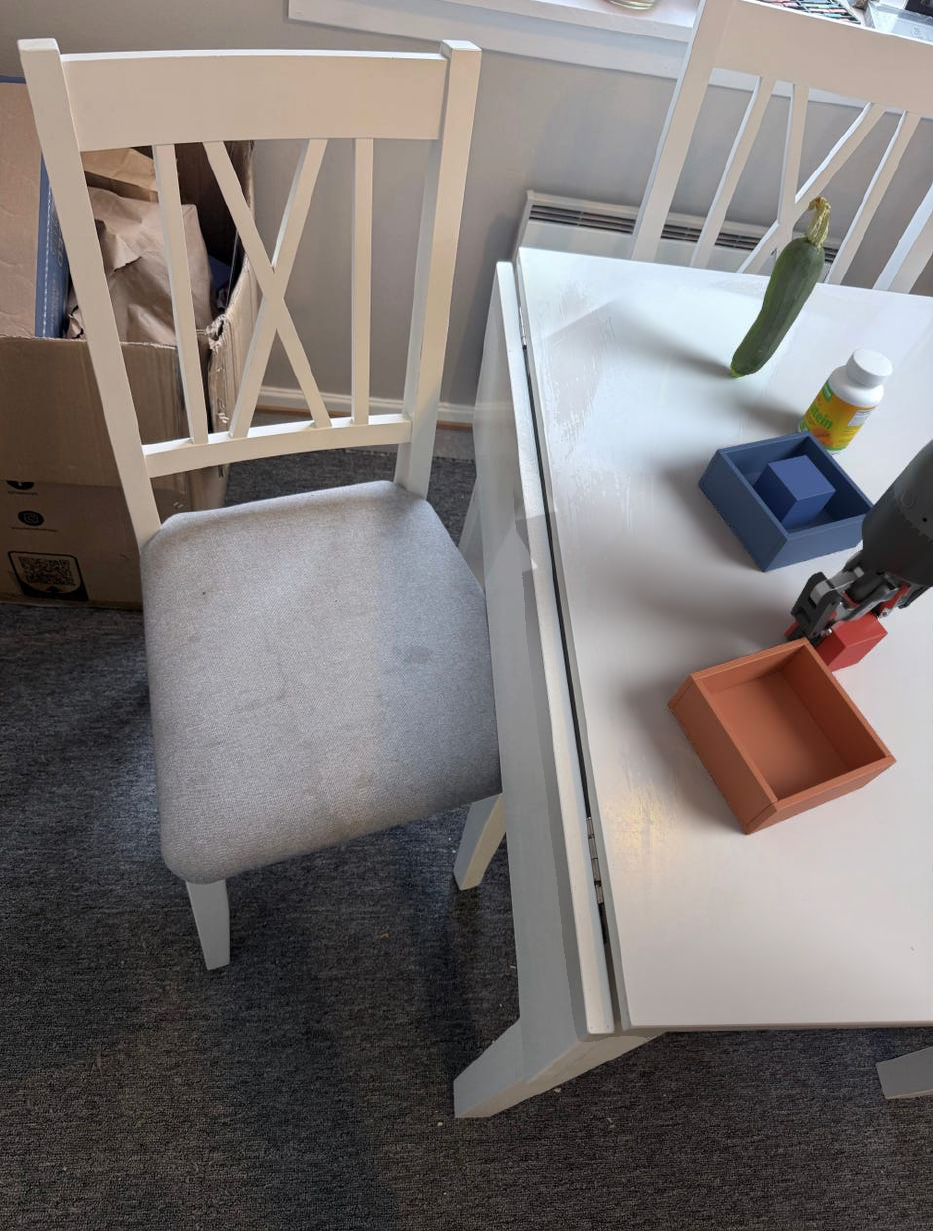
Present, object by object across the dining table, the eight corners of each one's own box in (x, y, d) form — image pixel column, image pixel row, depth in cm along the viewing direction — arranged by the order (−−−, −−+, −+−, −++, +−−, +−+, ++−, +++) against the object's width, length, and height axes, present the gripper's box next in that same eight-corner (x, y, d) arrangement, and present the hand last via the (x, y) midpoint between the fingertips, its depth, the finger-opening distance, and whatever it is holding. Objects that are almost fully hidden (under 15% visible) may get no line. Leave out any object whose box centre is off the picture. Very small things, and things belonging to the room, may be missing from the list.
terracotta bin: (863, 787, 64) (897, 761, 60) (747, 835, 60) (777, 811, 56) (778, 666, 69) (805, 636, 65) (667, 704, 65) (689, 673, 61)
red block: (857, 663, 71) (888, 633, 67) (816, 677, 69) (846, 647, 65) (824, 620, 73) (853, 588, 69) (784, 633, 71) (811, 601, 68)
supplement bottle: (786, 423, 88) (834, 346, 80) (825, 416, 90) (875, 340, 82) (816, 459, 85) (869, 383, 78) (855, 451, 87) (911, 376, 80)
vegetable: (764, 384, 92) (866, 207, 76) (744, 399, 89) (844, 221, 73) (732, 362, 93) (824, 184, 77) (711, 376, 91) (802, 196, 75)
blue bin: (856, 547, 79) (883, 514, 75) (763, 572, 75) (787, 540, 71) (787, 463, 84) (809, 430, 81) (697, 483, 80) (716, 449, 77)
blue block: (810, 524, 79) (836, 490, 75) (772, 534, 77) (797, 499, 74) (782, 489, 81) (805, 454, 77) (745, 498, 79) (767, 463, 76)
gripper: (909, 570, 53) (780, 701, 66) (1057, 525, 58) (909, 655, 72) (837, 484, 56) (728, 625, 70) (983, 449, 61) (855, 587, 75)
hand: (820, 640), depth 71 cm, fingers closed on red block, 4 cm apart
